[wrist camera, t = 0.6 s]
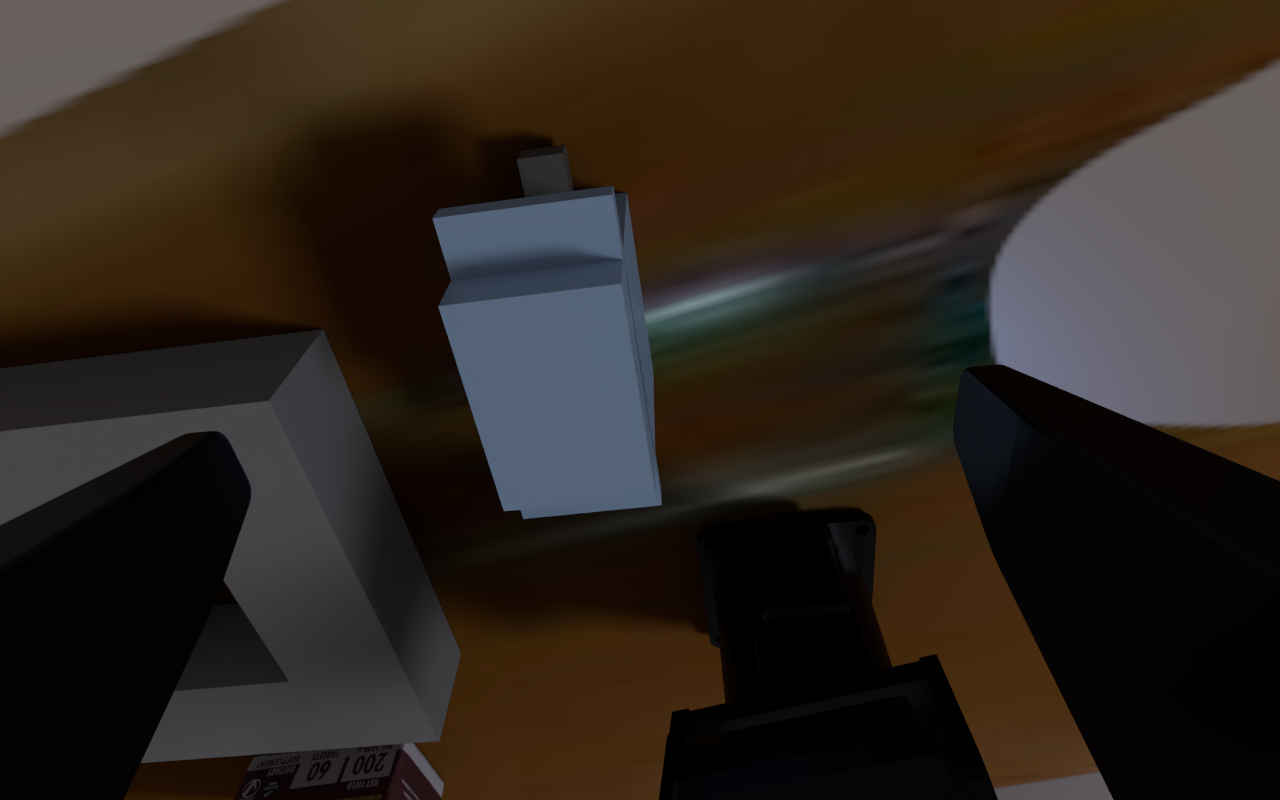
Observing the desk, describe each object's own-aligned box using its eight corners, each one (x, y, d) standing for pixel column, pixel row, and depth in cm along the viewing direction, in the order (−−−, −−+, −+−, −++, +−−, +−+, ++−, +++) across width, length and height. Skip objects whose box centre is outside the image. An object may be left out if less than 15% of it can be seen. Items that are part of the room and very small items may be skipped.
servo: (659, 410, 25) (662, 537, 20) (542, 423, 25) (516, 552, 20) (617, 133, 20) (609, 210, 15) (472, 153, 20) (416, 236, 15)
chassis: (461, 653, 32) (439, 740, 28) (156, 679, 33) (101, 765, 30) (323, 329, 23) (268, 400, 20) (-87, 378, 24) (-204, 454, 21)
